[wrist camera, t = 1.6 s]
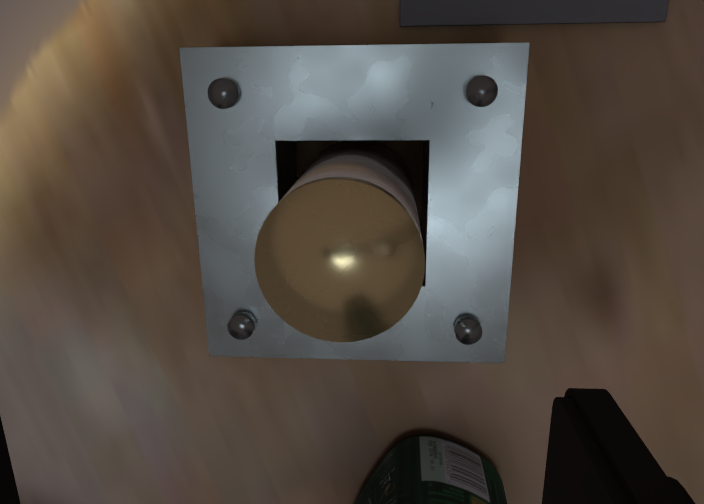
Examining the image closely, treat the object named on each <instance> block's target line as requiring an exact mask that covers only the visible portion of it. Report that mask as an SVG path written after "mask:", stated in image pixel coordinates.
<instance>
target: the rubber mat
mask: <svg viewBox="0 0 704 504" xmlns="http://www.w3.org/2000/svg"><path fill="white" fill-rule="evenodd" d="M668 3H669V0H400V26H458V25H517V24H577V23H636V22H665V21H666V17H667V10H668Z"/></svg>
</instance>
